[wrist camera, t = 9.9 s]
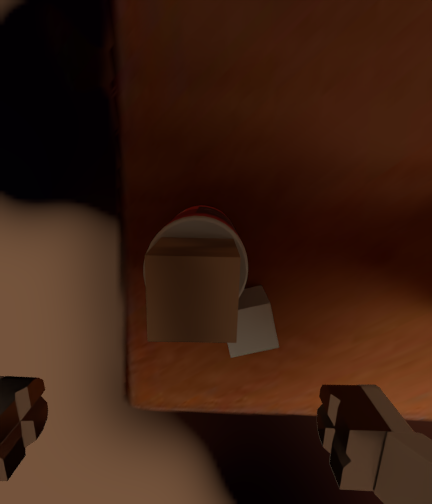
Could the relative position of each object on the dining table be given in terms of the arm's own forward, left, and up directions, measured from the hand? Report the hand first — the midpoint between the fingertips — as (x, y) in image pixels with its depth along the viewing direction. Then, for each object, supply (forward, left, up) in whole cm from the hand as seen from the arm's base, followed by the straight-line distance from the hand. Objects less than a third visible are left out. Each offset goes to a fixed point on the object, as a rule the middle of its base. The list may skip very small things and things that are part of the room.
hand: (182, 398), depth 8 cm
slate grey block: (-5, +8, -23) cm, 25 cm away
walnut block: (0, 0, -12) cm, 12 cm away
